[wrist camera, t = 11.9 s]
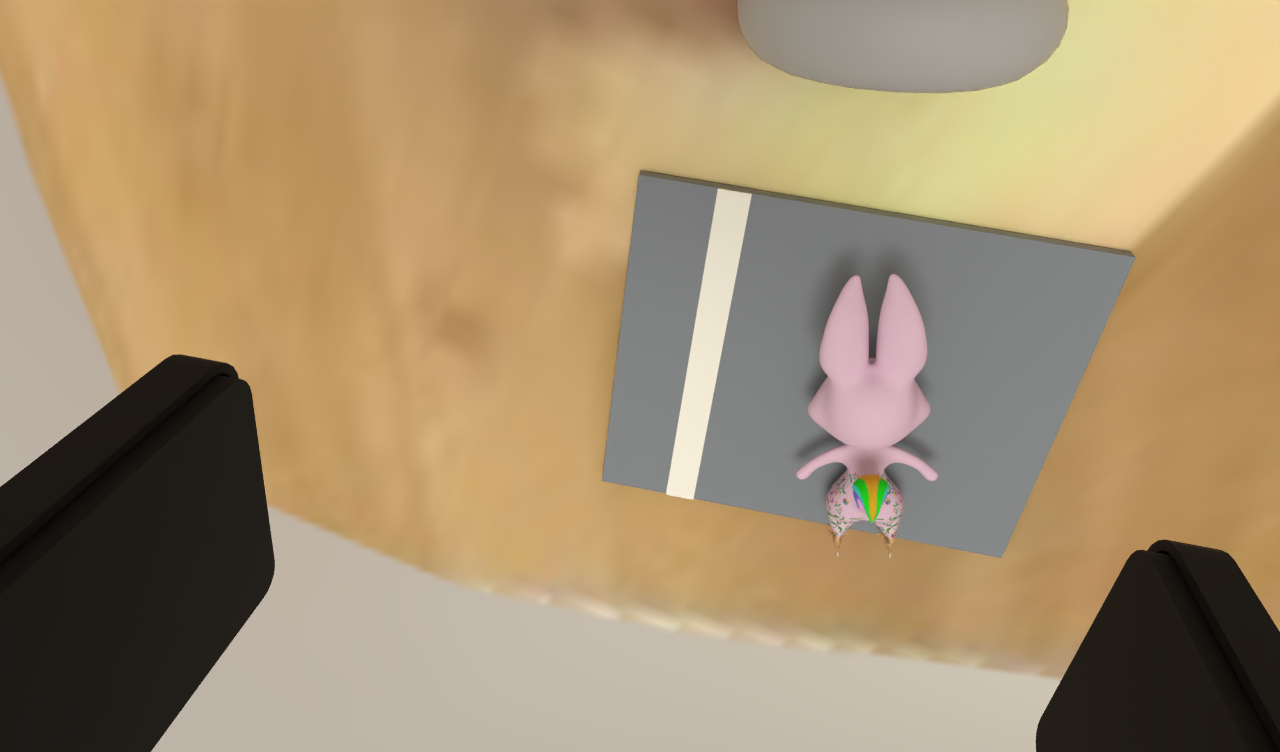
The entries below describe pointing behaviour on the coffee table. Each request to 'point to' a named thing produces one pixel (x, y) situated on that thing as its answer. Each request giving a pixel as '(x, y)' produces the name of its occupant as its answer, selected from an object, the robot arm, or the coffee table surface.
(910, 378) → the rabbit figure
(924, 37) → the donut
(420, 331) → the coffee table surface
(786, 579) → the coffee table surface
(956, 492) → the mat
